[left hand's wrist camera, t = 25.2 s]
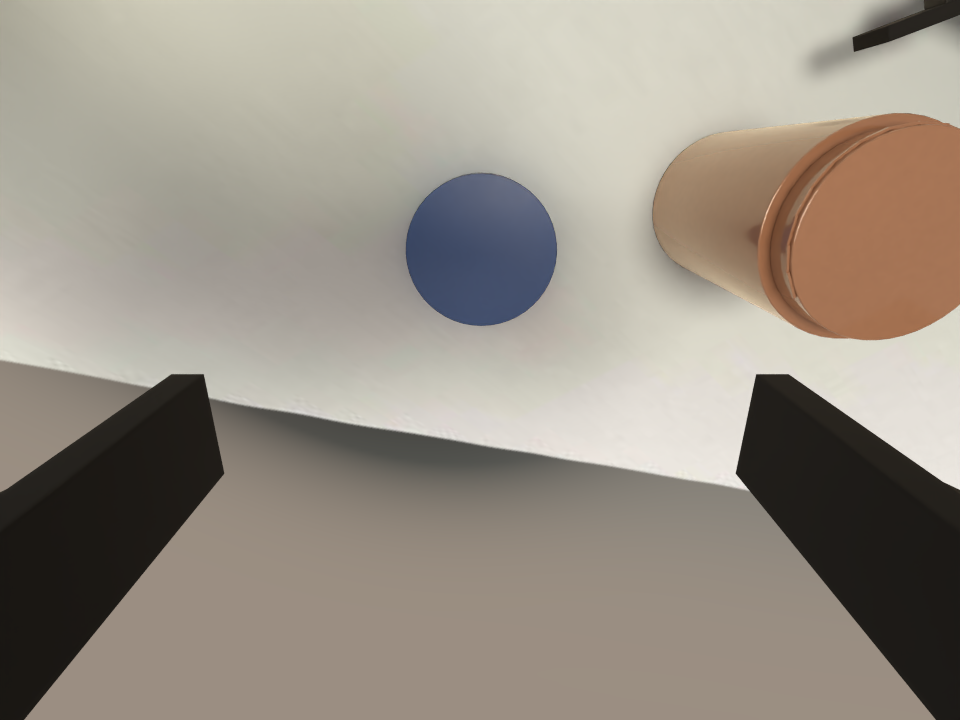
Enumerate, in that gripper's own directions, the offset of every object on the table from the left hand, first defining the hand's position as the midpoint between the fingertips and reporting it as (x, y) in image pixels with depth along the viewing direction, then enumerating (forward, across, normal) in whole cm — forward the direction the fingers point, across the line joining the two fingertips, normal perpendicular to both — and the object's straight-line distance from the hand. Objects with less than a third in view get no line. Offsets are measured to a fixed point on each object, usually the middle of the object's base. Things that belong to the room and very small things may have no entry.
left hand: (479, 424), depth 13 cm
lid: (+26, 0, 0) cm, 26 cm away
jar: (+27, +17, +3) cm, 32 cm away
